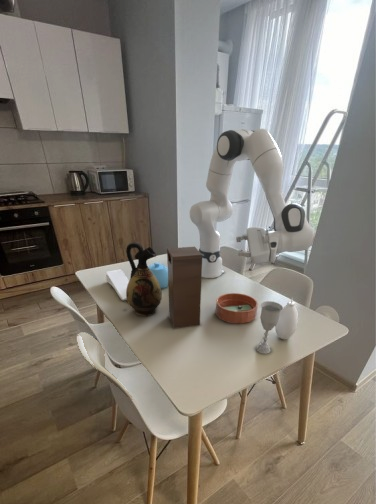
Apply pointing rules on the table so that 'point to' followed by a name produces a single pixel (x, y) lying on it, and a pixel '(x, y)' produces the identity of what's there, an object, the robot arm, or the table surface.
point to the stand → (184, 286)
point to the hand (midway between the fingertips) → (237, 246)
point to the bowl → (236, 300)
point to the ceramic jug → (142, 282)
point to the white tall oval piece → (287, 321)
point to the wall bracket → (118, 282)
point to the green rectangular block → (239, 308)
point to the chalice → (268, 322)
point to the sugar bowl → (160, 274)
